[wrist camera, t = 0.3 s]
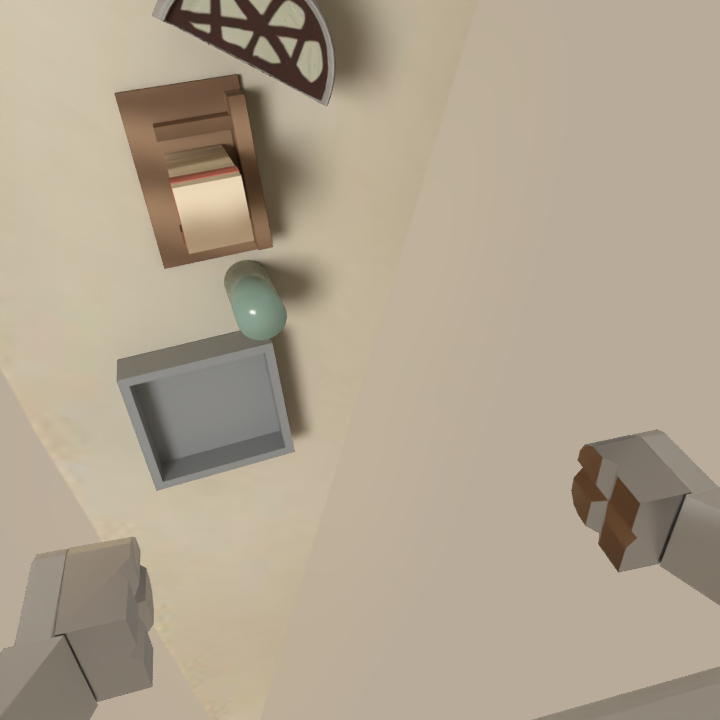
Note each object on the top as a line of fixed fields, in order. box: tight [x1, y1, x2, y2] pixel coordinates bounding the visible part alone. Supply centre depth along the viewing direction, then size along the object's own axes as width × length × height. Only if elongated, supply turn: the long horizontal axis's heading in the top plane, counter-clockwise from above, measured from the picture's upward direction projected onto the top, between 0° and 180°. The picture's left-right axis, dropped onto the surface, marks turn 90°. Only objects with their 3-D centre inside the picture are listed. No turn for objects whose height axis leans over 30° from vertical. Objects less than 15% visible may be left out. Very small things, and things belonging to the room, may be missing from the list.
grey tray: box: [117, 331, 295, 491], centre depth 61 cm, size 13×14×4 cm
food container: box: [152, 0, 336, 106], centre depth 44 cm, size 12×6×10 cm, turn 62°
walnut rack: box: [115, 74, 273, 269], centre depth 51 cm, size 14×9×4 cm, turn 6°
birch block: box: [164, 144, 254, 254], centre depth 48 cm, size 5×5×11 cm
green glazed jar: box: [224, 260, 287, 340], centre depth 55 cm, size 4×4×8 cm
